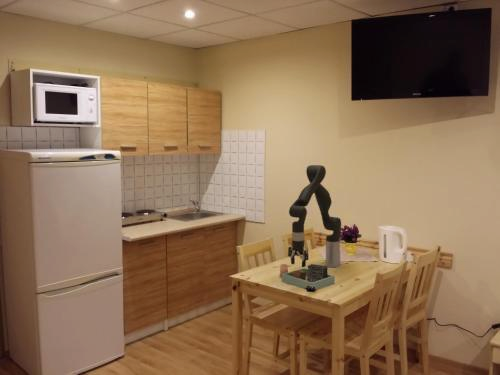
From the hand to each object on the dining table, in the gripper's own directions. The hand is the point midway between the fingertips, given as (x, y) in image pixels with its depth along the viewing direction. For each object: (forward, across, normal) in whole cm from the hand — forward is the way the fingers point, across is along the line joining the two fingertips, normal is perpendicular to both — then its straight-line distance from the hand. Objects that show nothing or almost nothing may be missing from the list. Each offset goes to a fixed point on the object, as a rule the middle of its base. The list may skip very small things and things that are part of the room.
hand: (298, 265), depth 277 cm
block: (+10, 0, 0) cm, 10 cm away
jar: (+10, +13, -1) cm, 16 cm away
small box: (+10, -10, -7) cm, 16 cm away
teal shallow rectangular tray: (+10, -5, -3) cm, 12 cm away
